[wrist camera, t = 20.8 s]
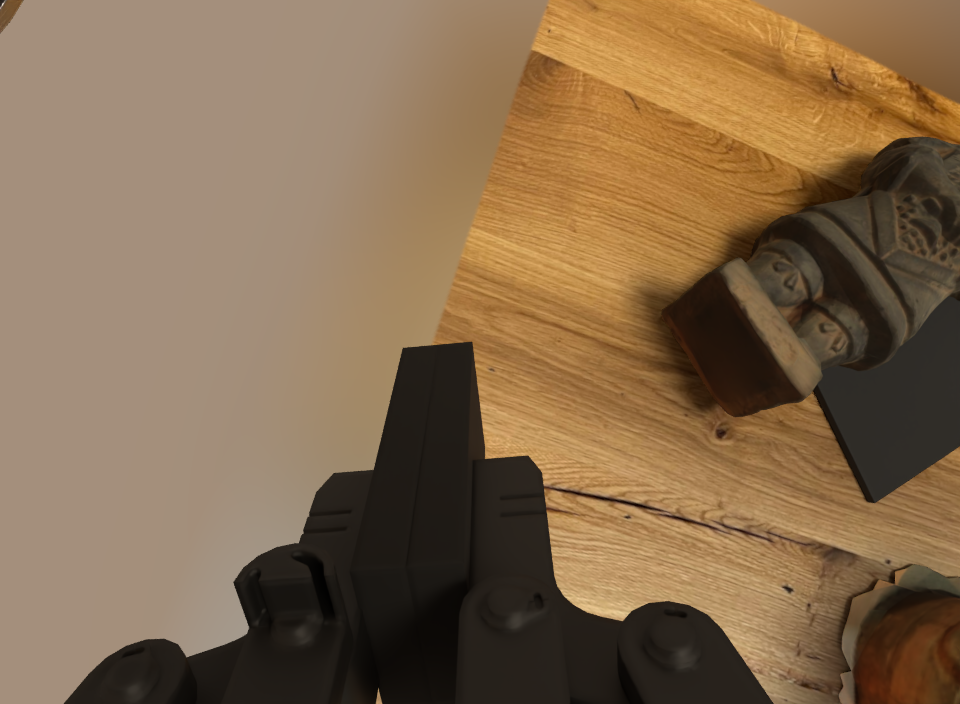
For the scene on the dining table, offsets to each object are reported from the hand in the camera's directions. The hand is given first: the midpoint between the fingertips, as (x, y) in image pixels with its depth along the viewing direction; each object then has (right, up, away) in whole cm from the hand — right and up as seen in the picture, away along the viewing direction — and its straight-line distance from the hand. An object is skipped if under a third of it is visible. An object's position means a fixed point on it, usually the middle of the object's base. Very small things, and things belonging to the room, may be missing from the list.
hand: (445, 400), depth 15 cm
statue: (+13, +1, +22) cm, 25 cm away
